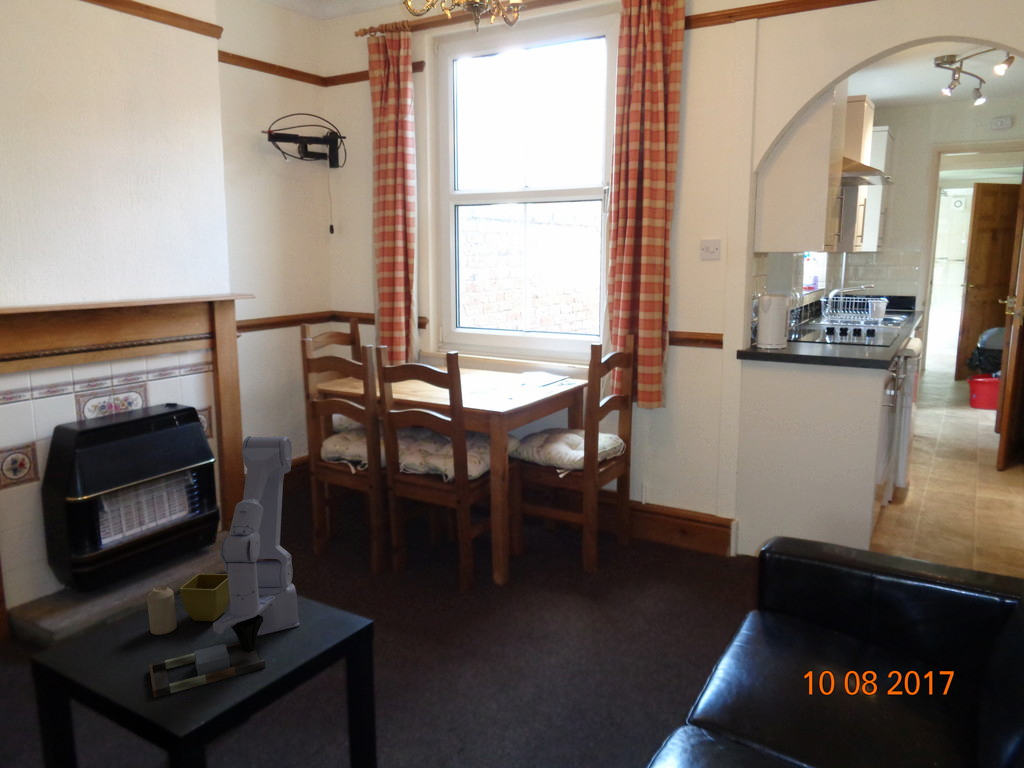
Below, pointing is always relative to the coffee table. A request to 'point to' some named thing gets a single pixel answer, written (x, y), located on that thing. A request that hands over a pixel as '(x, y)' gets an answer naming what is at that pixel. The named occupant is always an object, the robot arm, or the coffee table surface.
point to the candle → (161, 610)
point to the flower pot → (206, 596)
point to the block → (211, 659)
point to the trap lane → (239, 663)
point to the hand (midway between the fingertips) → (248, 650)
